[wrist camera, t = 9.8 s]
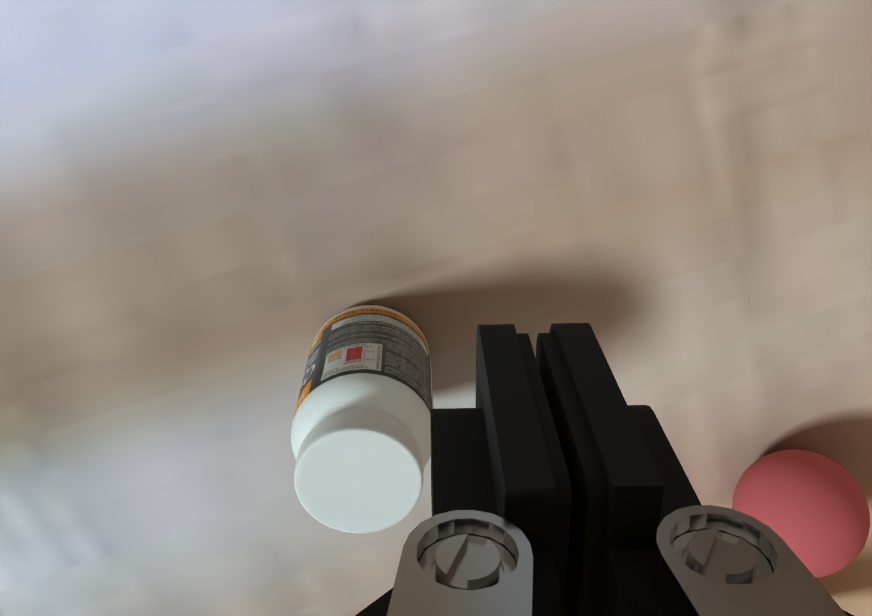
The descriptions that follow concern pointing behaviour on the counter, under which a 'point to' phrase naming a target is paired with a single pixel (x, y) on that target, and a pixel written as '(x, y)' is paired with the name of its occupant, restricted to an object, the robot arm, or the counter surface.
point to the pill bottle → (363, 420)
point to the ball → (807, 507)
